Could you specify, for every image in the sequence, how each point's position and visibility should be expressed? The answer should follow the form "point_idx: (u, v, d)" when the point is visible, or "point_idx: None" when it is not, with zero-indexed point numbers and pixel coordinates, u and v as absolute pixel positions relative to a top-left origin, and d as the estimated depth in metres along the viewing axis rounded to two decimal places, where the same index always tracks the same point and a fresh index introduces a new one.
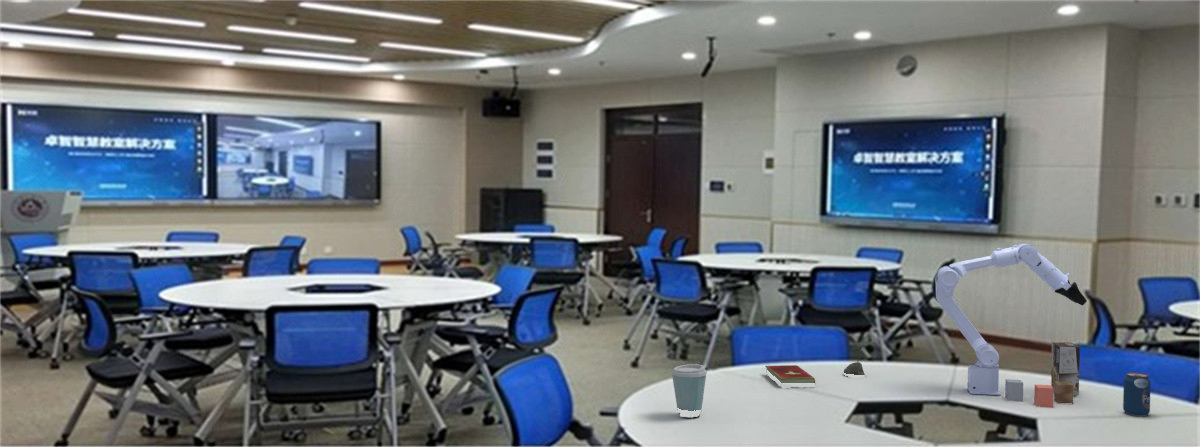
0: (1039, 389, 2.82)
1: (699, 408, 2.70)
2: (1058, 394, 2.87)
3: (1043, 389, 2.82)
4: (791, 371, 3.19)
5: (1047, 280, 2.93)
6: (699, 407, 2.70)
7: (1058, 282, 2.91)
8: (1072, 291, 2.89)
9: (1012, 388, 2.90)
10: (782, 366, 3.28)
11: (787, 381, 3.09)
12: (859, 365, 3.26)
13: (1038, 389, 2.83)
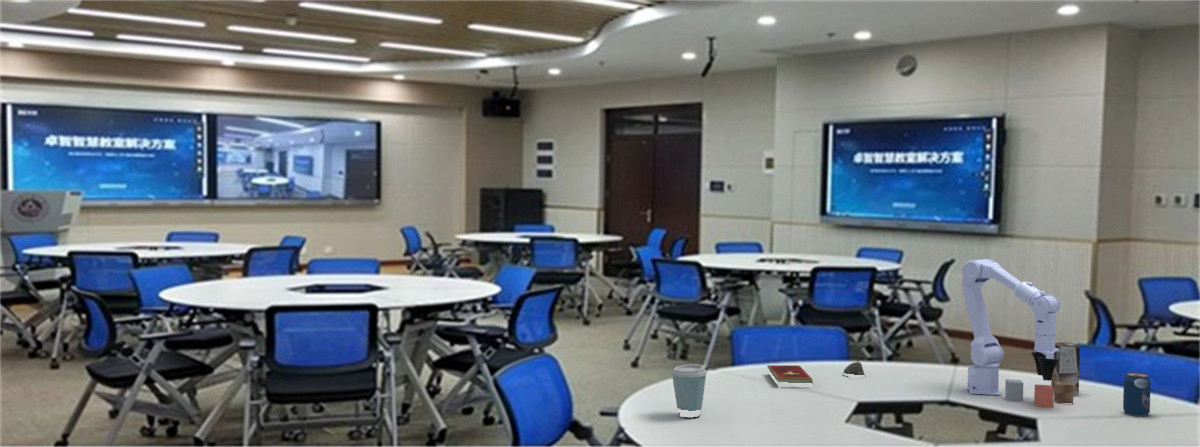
0: (1039, 389, 2.82)
1: (699, 408, 2.70)
2: (1058, 394, 2.87)
3: (1043, 389, 2.82)
4: (791, 371, 3.19)
5: (1038, 339, 2.82)
6: (699, 407, 2.70)
7: (1045, 348, 2.81)
8: (1048, 363, 2.79)
9: (1012, 388, 2.90)
10: (784, 366, 3.28)
11: (784, 381, 3.09)
12: (859, 365, 3.26)
13: (1038, 389, 2.83)
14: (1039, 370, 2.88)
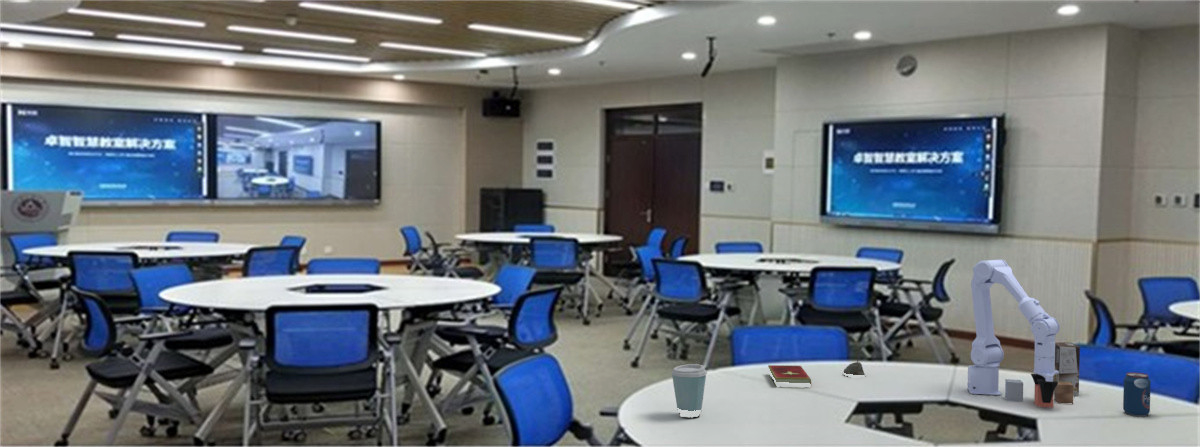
0: (1039, 389, 2.82)
1: (699, 408, 2.70)
2: (1058, 394, 2.87)
3: None
4: (791, 371, 3.19)
5: (1037, 361, 2.83)
6: (699, 407, 2.70)
7: (1044, 370, 2.81)
8: (1048, 386, 2.80)
9: (1012, 388, 2.90)
10: (785, 366, 3.28)
11: (782, 381, 3.09)
12: (859, 365, 3.26)
13: (1038, 389, 2.83)
14: None
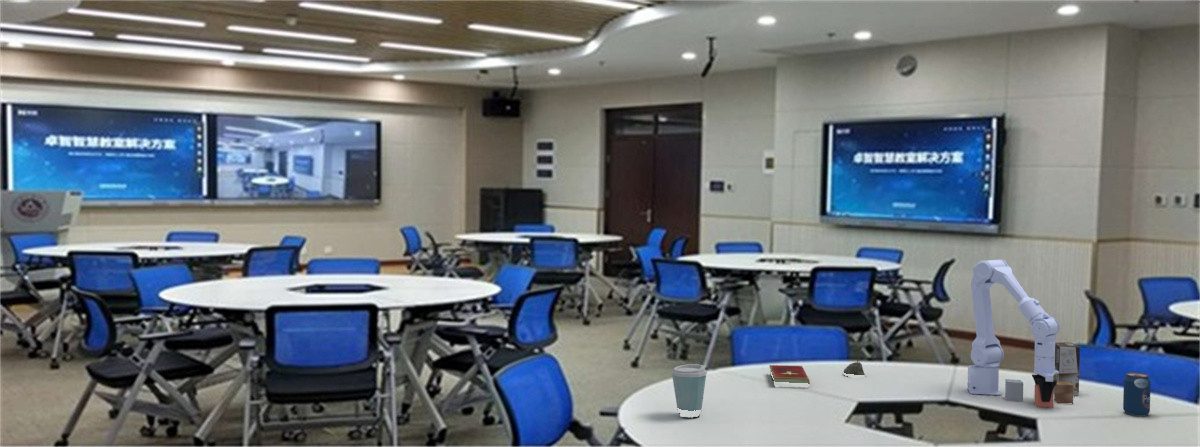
0: (1039, 389, 2.82)
1: (699, 408, 2.70)
2: (1058, 394, 2.87)
3: None
4: (790, 371, 3.19)
5: (1037, 361, 2.83)
6: (699, 407, 2.70)
7: (1044, 370, 2.81)
8: (1047, 385, 2.81)
9: (1012, 388, 2.90)
10: (786, 366, 3.28)
11: (781, 381, 3.10)
12: (859, 365, 3.26)
13: (1038, 389, 2.83)
14: None
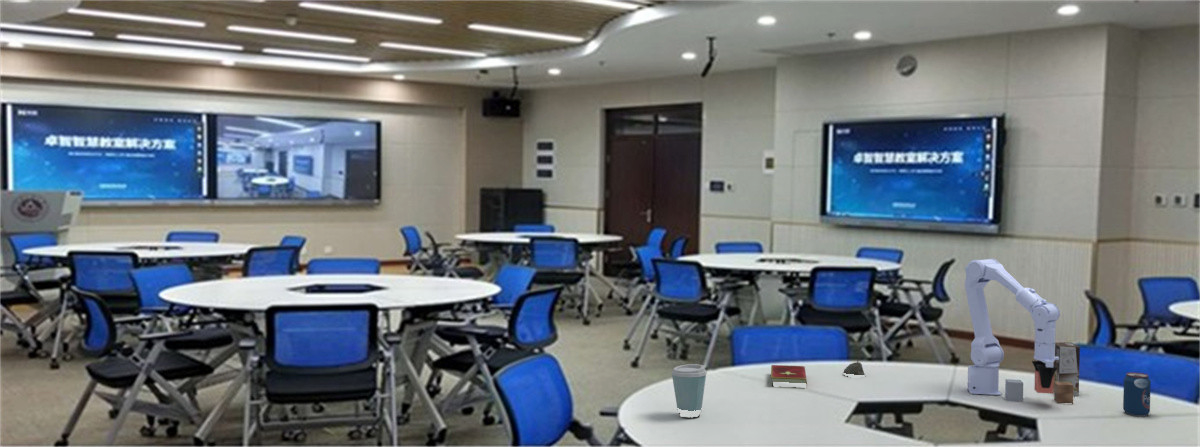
0: (1039, 375, 2.82)
1: (699, 408, 2.70)
2: (1058, 394, 2.87)
3: None
4: (790, 371, 3.19)
5: (1038, 347, 2.82)
6: (699, 407, 2.70)
7: (1045, 356, 2.81)
8: (1047, 371, 2.81)
9: (1012, 388, 2.90)
10: (787, 366, 3.28)
11: (778, 380, 3.10)
12: (859, 365, 3.26)
13: (1038, 375, 2.82)
14: None
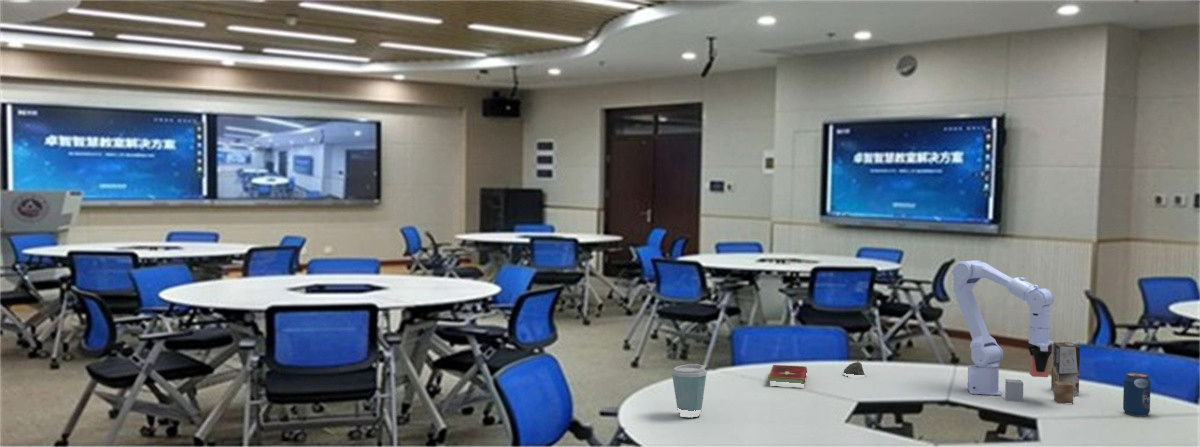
0: (1034, 359, 2.85)
1: (699, 408, 2.70)
2: (1058, 394, 2.87)
3: None
4: (790, 371, 3.19)
5: (1032, 332, 2.85)
6: (699, 407, 2.70)
7: (1039, 340, 2.84)
8: (1042, 355, 2.84)
9: (1012, 388, 2.90)
10: (789, 366, 3.28)
11: (775, 380, 3.10)
12: (859, 365, 3.26)
13: (1033, 359, 2.85)
14: None
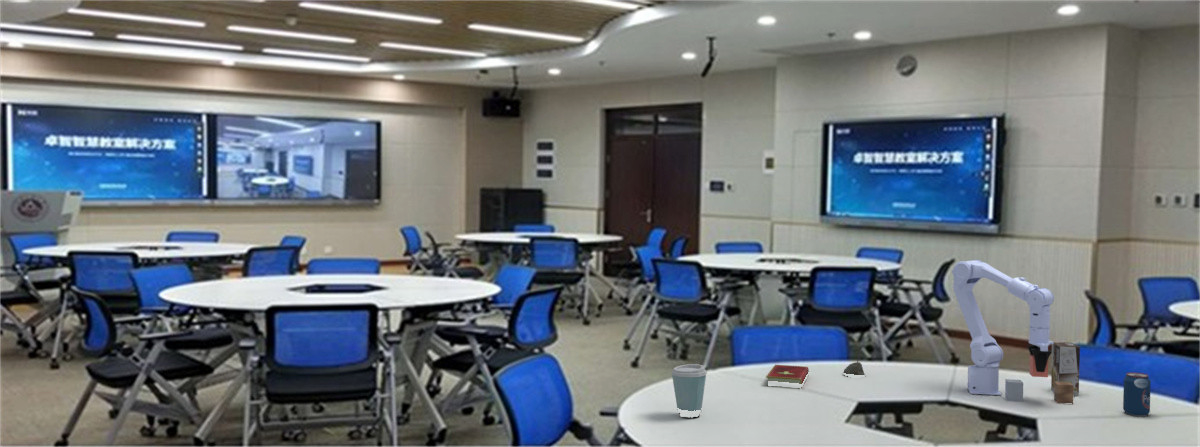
0: (1034, 359, 2.85)
1: (699, 408, 2.70)
2: (1058, 394, 2.87)
3: None
4: (789, 371, 3.19)
5: (1032, 332, 2.85)
6: (699, 407, 2.70)
7: (1039, 340, 2.84)
8: (1042, 355, 2.84)
9: (1012, 388, 2.90)
10: (790, 366, 3.27)
11: (773, 380, 3.11)
12: (859, 365, 3.26)
13: (1033, 359, 2.85)
14: None
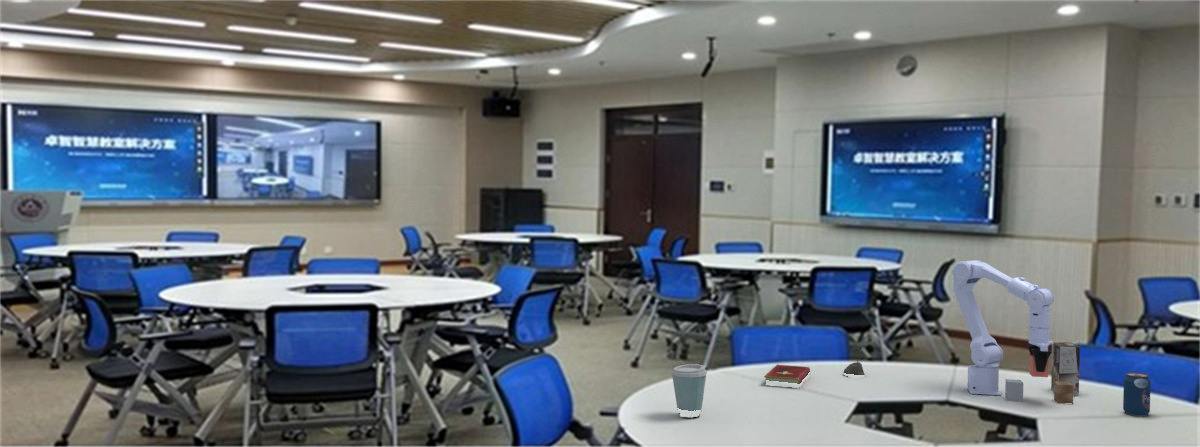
0: (1034, 359, 2.85)
1: (699, 408, 2.70)
2: (1058, 394, 2.87)
3: None
4: (789, 371, 3.19)
5: (1032, 332, 2.85)
6: (699, 407, 2.70)
7: (1039, 340, 2.84)
8: (1042, 355, 2.84)
9: (1012, 388, 2.90)
10: (791, 366, 3.27)
11: (771, 380, 3.11)
12: (859, 365, 3.26)
13: (1033, 359, 2.85)
14: None
